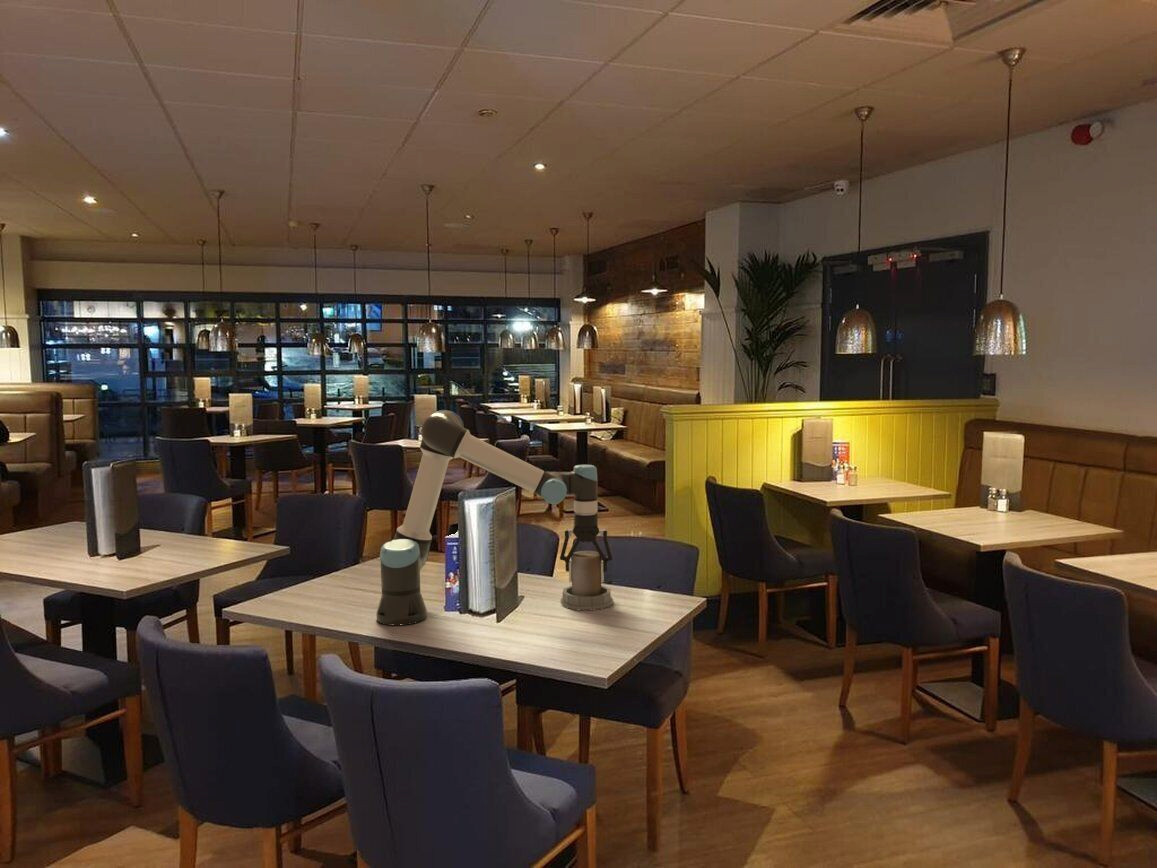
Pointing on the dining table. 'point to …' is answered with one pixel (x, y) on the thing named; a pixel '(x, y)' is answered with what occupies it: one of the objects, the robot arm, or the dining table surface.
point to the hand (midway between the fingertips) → (586, 581)
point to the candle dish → (587, 599)
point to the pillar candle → (586, 573)
